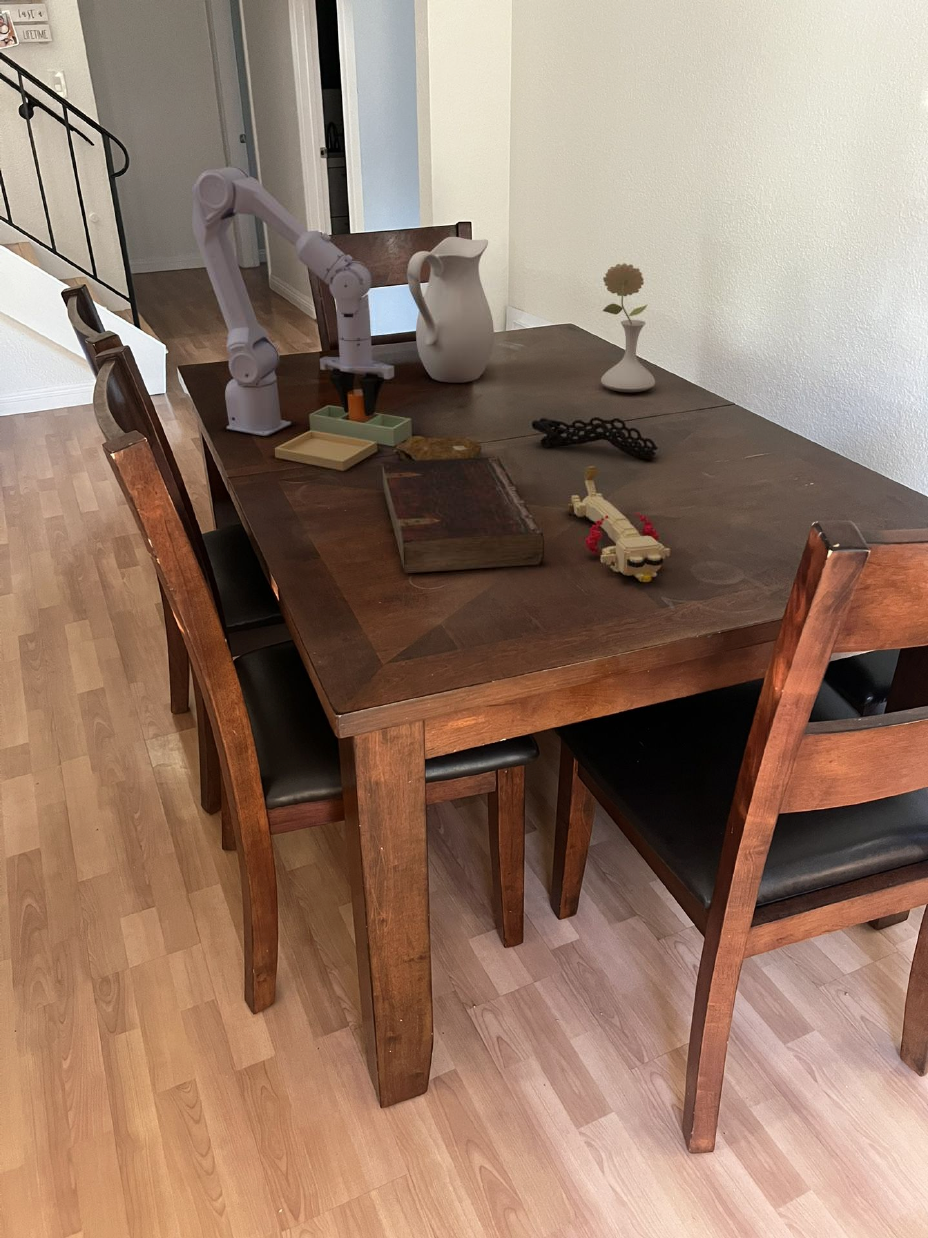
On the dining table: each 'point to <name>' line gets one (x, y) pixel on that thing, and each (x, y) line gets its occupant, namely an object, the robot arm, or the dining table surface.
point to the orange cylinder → (356, 406)
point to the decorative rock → (437, 448)
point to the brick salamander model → (619, 535)
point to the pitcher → (452, 311)
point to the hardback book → (459, 515)
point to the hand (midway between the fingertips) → (359, 412)
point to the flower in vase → (627, 333)
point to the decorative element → (558, 440)
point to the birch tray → (326, 450)
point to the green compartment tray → (361, 426)
